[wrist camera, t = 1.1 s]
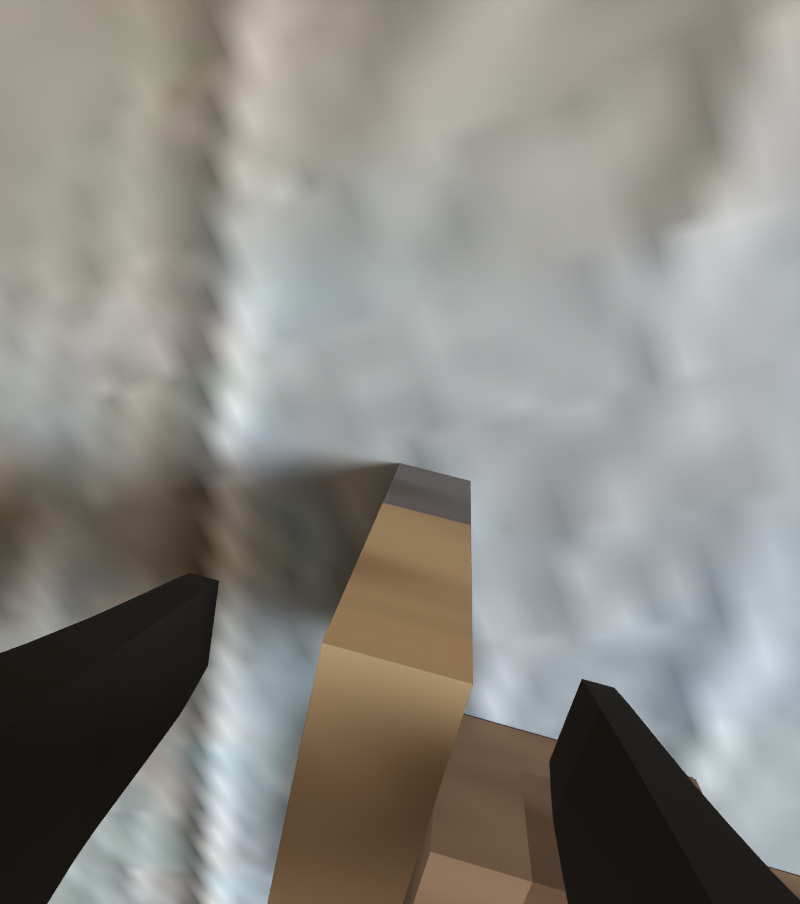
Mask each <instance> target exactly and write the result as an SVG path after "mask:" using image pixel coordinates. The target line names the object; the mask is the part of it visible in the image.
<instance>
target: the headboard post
mask: <svg viewBox="0 0 800 904" xmlns="http://www.w3.org/2000/svg"><path fill="white" fill-rule="evenodd" d="M556 743H557V740H553V739H550V738H546V737H542V736H539V735H535V734H532V733H528V732H525V731H521V730H517V729H514V728H510V727H507V726H503V725H500V724H496V723H492V722H489V721H485V720H482V719H478V718H475V717H471V716H467V715H464V714H463V717H462V720H461V723H460V726H459V729H458V732H457V736H456V739H455V742H454V745H453V748H452V751H451V754H450V757H449V761H448V764H447V767H446V770H445V773H444V776H443V779H442V782H441V786H440V789H439V792H438V795H437V798H436V801H435V804H434V807H433V811H432V814H431V817H430V820H429V823H428V826H427V829H426V832H425V835H424V839H423V842H422V845H421V848H420V851H419V854H418V857H417V860H416V864H415V867H414V870H413V873H412V876H411V879H410V882H409V885H408V889H407V892H406V895H405V898H404V901H403V904H568V902H567V896H566V891H565V886H564V880H563V875H562V869H561V864H560V858H559V853H558V847H557V841H556V836H555V830H554V824H553V815H552V802H551V787H550V769H549V761H550V758H551V756H552V753H553V751H554V748H555V746H556ZM689 779H690V780H691V781H692V782H693V783H694V785H695V786H696V787H697V788H698V789H699V790H700V792H701V789H700V787H699V785H698V783H697V781H696V779H692V778H689ZM701 793H702V792H701ZM769 869H770V870H771V871H772V872H773V873H774V874H775V875H776V876H777V877H778V878H779V879H780V880H781V881H782V882H783V883H784V884H785V885H786V886H787V887H788V888H789V889H790V890H791V891H792V892H793V893H794V894H795V895H796V896H797V897H798V898H799V899H800V877H799V876H796V875H792V874H789V873H785V872H782V871H778V870H775V869H772V868H769Z"/></svg>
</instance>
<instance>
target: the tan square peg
mask: <svg viewBox="0 0 800 904" xmlns="http://www.w3.org/2000/svg"><path fill="white" fill-rule="evenodd" d="M472 686H473V650H472V569H471V489H470V481H468V480H464V479H460V478H456V477H452V476H448V475H444V474H440V473H436V472H432V471H428V470H424V469H420V468H416V467H412V466H408V465H404V464H399V466H398V469H397V471H396V473H395V475H394V478H393V480H392V482H391V485H390V487H389V489H388V492H387V494H386V496H385V499H384V501H383V503H382V505H381V508H380V510H379V512H378V515H377V517H376V519H375V522H374V524H373V526H372V528H371V531H370V533H369V535H368V538H367V540H366V542H365V545H364V547H363V549H362V552H361V554H360V556H359V558H358V561H357V563H356V565H355V568H354V570H353V572H352V575H351V577H350V579H349V582H348V584H347V586H346V588H345V591H344V593H343V595H342V598H341V600H340V602H339V605H338V607H337V609H336V611H335V614H334V616H333V618H332V621H331V623H330V625H329V628H328V630H327V632H326V635H325V637H324V639H323V641H322V645H321V650H320V655H319V659H318V664H317V669H316V674H315V678H314V683H313V688H312V693H311V698H310V702H309V707H308V712H307V717H306V722H305V726H304V731H303V736H302V741H301V746H300V750H299V755H298V760H297V765H296V770H295V774H294V779H293V784H292V789H291V794H290V798H289V803H288V808H287V813H286V817H285V822H284V827H283V832H282V837H281V841H280V846H279V851H278V856H277V861H276V865H275V870H274V875H273V880H272V885H271V889H270V894H269V899H268V904H403V901H404V898H405V895H406V892H407V889H408V885H409V882H410V879H411V876H412V873H413V870H414V867H415V864H416V860H417V857H418V854H419V851H420V848H421V845H422V842H423V839H424V835H425V832H426V829H427V826H428V823H429V820H430V817H431V814H432V811H433V807H434V804H435V801H436V798H437V795H438V792H439V789H440V786H441V782H442V779H443V776H444V773H445V770H446V767H447V764H448V761H449V757H450V754H451V751H452V748H453V745H454V742H455V739H456V736H457V732H458V729H459V726H460V723H461V720H462V717H463V714H464V711H465V707H466V704H467V701H468V698H469V695H470V692H471V689H472Z"/></svg>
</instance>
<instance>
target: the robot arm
mask: <svg viewBox="0 0 800 904" xmlns="http://www.w3.org/2000/svg"><path fill="white" fill-rule="evenodd" d="M218 584H219V581H217V580H213V579H210V578H206V577H202V576H199V575H195V574H191V573H189V574H186V575H184V576H181V577H179V578H177V579H174V580H172V581H170V582H168V583H166V584H163V585H161V586H159V587H157V588H155V589H153V590H150V591H148V592H146V593H144V594H142V595H140V596H137V597H135V598H133V599H131V600H129V601H126V602H124V603H122V604H120V605H118V606H115V607H113V608H111V609H109V610H106V611H104V612H102V613H100V614H97V615H95V616H93V617H91V618H88V619H86V620H84V621H81V622H79V623H76V624H74V625H71V626H69V627H66V628H64V629H61V630H59V631H56V632H54V633H51V634H49V635H46V636H44V637H41V638H39V639H36V640H34V641H31V642H29V643H27V644H24V645H21V646H18V647H16V648H13V649H10V650H7V651H5V652H2V653H0V904H47V903H48V902H49V900H50V898H51V897H52V895H53V894H54V892H55V890H56V889H57V887H58V885H59V884H60V882H61V881H62V879H63V877H64V876H65V874H66V873H67V871H68V869H69V868H70V866H71V865H72V863H73V861H74V860H75V858H76V857H77V855H78V854H79V852H80V851H81V850H82V848H83V847H84V845H85V844H86V842H87V841H88V839H89V838H90V836H91V835H92V834H93V832H94V831H95V829H96V828H97V827H98V825H99V824H100V822H101V821H102V820H103V818H104V817H105V816H106V814H107V813H108V812H109V810H110V809H111V808H112V806H113V805H114V804H115V802H116V801H117V800H118V798H119V797H120V795H121V794H122V793H123V791H124V790H125V789H126V787H127V786H128V785H129V783H130V782H131V781H132V779H133V778H134V777H135V775H136V774H137V773H138V771H139V770H140V768H141V767H142V766H143V764H144V763H145V762H146V760H147V759H148V758H149V756H150V755H151V754H152V752H153V751H154V750H155V748H156V747H157V745H158V744H159V743H160V741H161V740H162V739H163V737H164V736H165V734H166V733H167V732H168V730H169V729H170V728H171V726H172V725H173V723H174V722H175V721H176V719H177V718H178V717H179V715H180V714H181V712H182V710H183V709H184V707H185V705H186V703H187V702H188V700H189V698H190V697H191V695H192V693H193V692H194V690H195V688H196V686H197V684H198V683H199V681H200V679H201V677H202V675H203V674H204V672H205V670H206V668H207V666H208V660H209V653H210V645H211V638H212V630H213V622H214V615H215V607H216V600H217V592H218ZM549 769H550V787H551V802H552V815H553V824H554V830H555V836H556V841H557V847H558V853H559V858H560V864H561V869H562V875H563V880H564V886H565V891H566V896H567V902H568V904H800V899H799V898H798V897H797V896H796V895H795V894H794V893H793V892H792V891H791V890H790V889H789V888H788V887H787V886H786V885H785V884H784V883H783V882H782V881H781V880H780V879H779V878H778V877H777V876H776V875H775V874H774V873H773V872H772V871H771V870H770V869H769V868H768V867H767V866H766V864H765V863H764V862H763V861H762V860H761V859H760V858H759V857H758V856H757V855H756V854H755V853H754V851H753V850H752V849H751V848H750V847H749V846H748V845H747V844H746V843H745V841H744V840H743V839H742V838H741V837H740V836H739V835H738V834H737V833H736V832H735V830H734V829H733V828H732V827H731V826H730V825H729V824H728V823H727V822H726V820H725V819H724V818H723V817H722V816H721V815H720V814H719V812H718V811H717V810H716V809H715V808H714V807H713V806H712V804H711V803H710V802H709V801H708V800H707V799H706V797H705V796H704V795H703V794H702V793H701V792H700V790H699V789H698V788H697V787H696V786H695V785H694V783H693V782H692V781H691V780H690V779H689V777H688V776H687V775H686V774H685V773H684V771H683V770H682V769H681V768H680V767H679V765H678V764H677V763H676V762H675V760H674V759H673V758H672V757H671V756H670V754H669V753H668V752H667V751H666V749H665V748H664V747H663V746H662V745H661V743H660V742H659V741H658V740H657V738H656V737H655V736H654V735H653V733H652V732H651V731H650V730H649V728H648V727H647V726H646V725H645V724H644V722H643V721H642V720H641V719H640V717H639V716H638V715H637V714H636V713H635V711H634V710H633V709H632V708H631V706H630V705H629V704H628V703H627V702H626V701H625V699H624V698H623V697H622V696H621V695H620V694H619V693H618V691H617V690H616V689H615V688H613V687H610V686H606V685H602V684H598V683H595V682H591V681H587V680H584V679H582V680H581V683H580V685H579V688H578V690H577V693H576V695H575V698H574V700H573V703H572V705H571V708H570V710H569V713H568V715H567V718H566V720H565V723H564V725H563V728H562V730H561V733H560V735H559V738H558V740H557V743H556V746H555V748H554V751H553V753H552V756H551V758H550V761H549Z"/></svg>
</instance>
